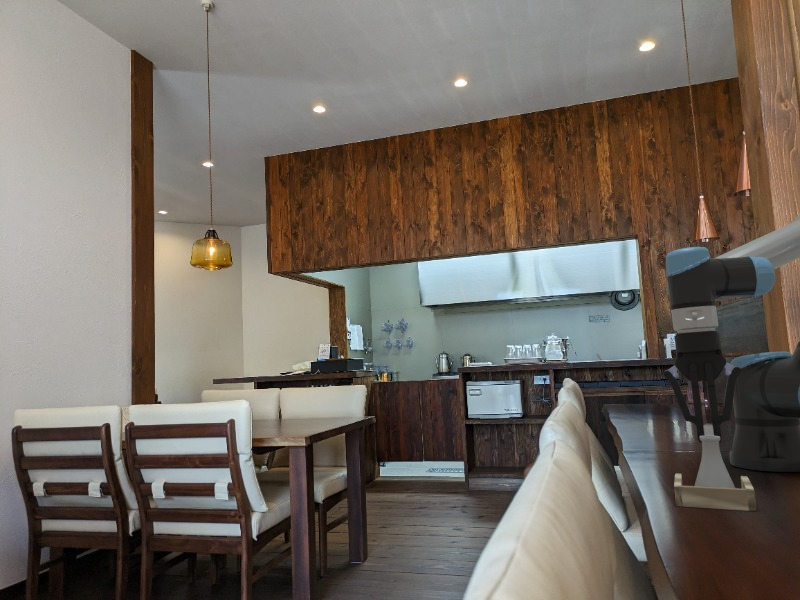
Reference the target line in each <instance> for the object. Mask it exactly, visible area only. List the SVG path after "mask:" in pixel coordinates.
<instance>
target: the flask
mask: <svg viewBox="0 0 800 600" xmlns="http://www.w3.org/2000/svg"><path fill="white" fill-rule="evenodd" d="M700 440H701V441H702V443H701V445H702V446H701V447H702V449H701V450H702V451H701V460H700V464H699V467H698V472H697V476H696V480H695V483H694V486H698V487H719V488H736V486H735V483H734V482H733V480H732V478H731V475H730V474H729V472H728V468H727V466H726V464H725V462H724V460H723V457H722V453H721V449H720V443H719V441H720V436H714V435H705V436H700Z"/></svg>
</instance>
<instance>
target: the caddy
mask: <svg viewBox="0 0 800 600" xmlns="http://www.w3.org/2000/svg"><path fill="white" fill-rule="evenodd" d="M682 475H683V474H682V473H675V474H674V483H673V484H674V485H673V489H674V499H675V507H681V508H682V507H686V508H701V509H713V510H717V509H718V510H733V511H747V512H749V511H751V512H757V510H758V509H757V501H756V499H757V498H756V492H755V488H754V487H753V485H752V482H751V480H750V479H749V477H748V475H740V485H741V488H739V487H738V488H737V487H735V488H719V487H698V486H695V485H694V486H693V485H683V477H682Z"/></svg>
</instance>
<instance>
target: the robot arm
mask: <svg viewBox="0 0 800 600" xmlns="http://www.w3.org/2000/svg"><path fill="white" fill-rule="evenodd" d="M798 259H800V214H798V215H797V216H796V217H795V219H794V220H793V222H790V223H789V224H786V225H784V226H782V227H780V228H777V229H776V230H773V231H771V232H769V233H767V234H764V235H762V236H760V237H758V238H756V239H753V240H751V241H749V242H747V243H745V244H743V245H740V246H738V247H736V248H734V249H731V250H729V251H726V252H725V253H722V254H721V255H718V256H715V257H713V258H712V257H711V255H710V251H709V249H708V248H707V247H704V246H702V247H701V246H691V247H683V248H678V249H675V250H672V251H670V252H668V253H667V254H666V256H665V273H666V274H665V277H666V279H667V283H666V284H667V285H666V289H667V295H668V297H669V302H670V303H669V304H670V308H671V310H670V311H671V320H672V327H673V330H674V331H675V332H676V333H675V335H673V338H674V345H675V351H676V352H675V353H676V357H675V361H674V365H673V366H671V367H670V368H669V369H666V370H664V372H663V376H664V377H665V378H666V379H667V381H668V382H669V383H670V385H671V388H672V390H673V392H674V395H675V398H676V401H677V403H678V406H679V408H680V411H681V413H682V415H683V419H684V420H685V421H686V422H688V423H689V422H690V423H692V424H694V425H695V427H696V434H697V435H696V436H697V440H698V442H699V444H700V443H701V444H702V441H701V440H700V436H705V435H714V436H720V441H719V444H720V443H722V441H723V440H722V432H721V424H723V423H724V422H728V421H730V420H731V416H732V409H733V412H734V419H735V420H734V421H735V431H734V435H733V441H732V447H731V450H730V451H729V462H730V463H729V464H730V465H731V466H733V467H735V468H740V469H746V470H752V471H760V472H762V471H763V472H776V473H777V472H779V473H792V472H794V473H797V472H800V340H799V341H798V342H797V344H796V347H795V349H794V351H793V353H791V352H789V351H769V352H768V351H767V352H760V353H751V354H746V355H741V356H737V357H734V358H733V359H732V360H731V361H730V363H729V362H727V359H726V357H725V356H724V354H723V351H722V342H721V336H720V332H719V331H718V330H716V328H718V327H719V320H718V311H717V301H718V302H719V301H723V300H728V299H730V300H731V299H735V298H742V297H749V298H753V297H757V296H763V295H766V294H768V293H769V292H771V291H772V289H773V287H774V286H775V283H776V272H775V270H777V269H778V268H781V267H783V266H785V265H787V264H790V263H791V262H794V261H796V260H798ZM723 369H725V372H724V373H725V375H726V376H727V378H726V385H725V391H724V399H723V405H722V412H721V414H720V413H719V408H718V400H717V393H716V385H715V381H716V380H717V378H718V377H719V375H720V374H721V373H722V371H723ZM678 371H679V372H680V373H681V374H682V375H683V376H684V377H685V378H686V380H688V381H690V385H691V392H692V393H691V394H692V402H693V409H694V410H693V411H694V415H693V414H691V411H690V410H689V409H690V408H689V406H688V403H687V402H686V399H685V395H684V394H683V393H684V392H683V391H682V388H681V386H680V383H679V381H678V378H679V374H678ZM699 382H706V389H707V397H708V405H709V413H710V419H711V423H704V418H703V407H702V402H701V392H700V386H699V385H700V384H699Z"/></svg>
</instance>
